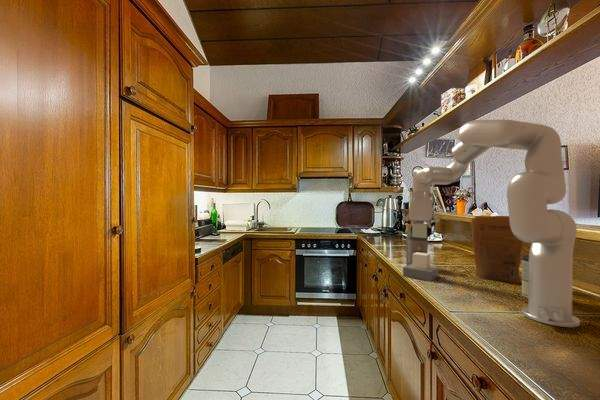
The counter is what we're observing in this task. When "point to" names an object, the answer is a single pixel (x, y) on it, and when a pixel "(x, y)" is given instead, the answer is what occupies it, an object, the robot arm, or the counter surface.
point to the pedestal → (421, 272)
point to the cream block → (421, 260)
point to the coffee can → (525, 276)
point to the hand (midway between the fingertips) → (421, 235)
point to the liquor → (415, 246)
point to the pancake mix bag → (496, 249)
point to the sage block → (419, 230)
